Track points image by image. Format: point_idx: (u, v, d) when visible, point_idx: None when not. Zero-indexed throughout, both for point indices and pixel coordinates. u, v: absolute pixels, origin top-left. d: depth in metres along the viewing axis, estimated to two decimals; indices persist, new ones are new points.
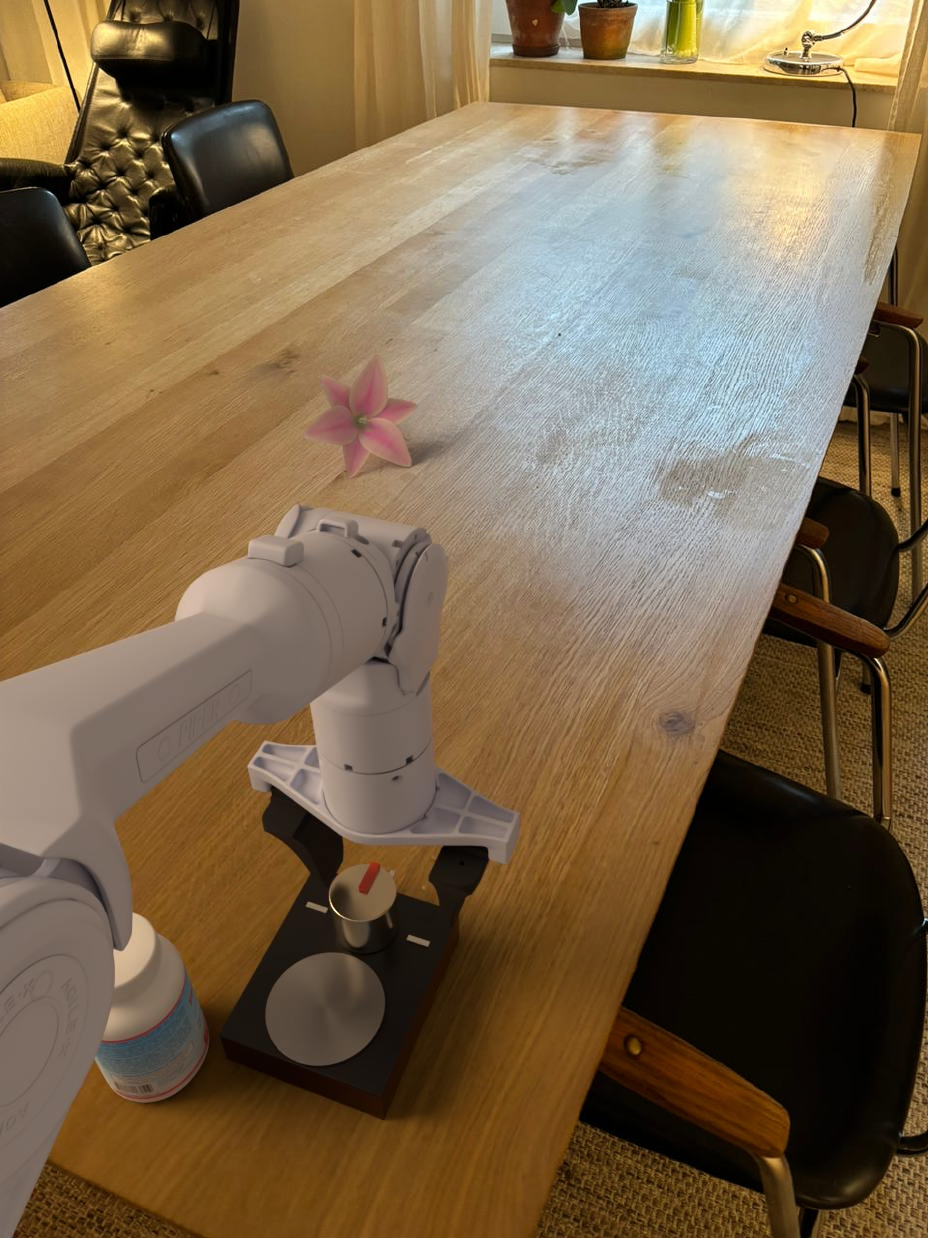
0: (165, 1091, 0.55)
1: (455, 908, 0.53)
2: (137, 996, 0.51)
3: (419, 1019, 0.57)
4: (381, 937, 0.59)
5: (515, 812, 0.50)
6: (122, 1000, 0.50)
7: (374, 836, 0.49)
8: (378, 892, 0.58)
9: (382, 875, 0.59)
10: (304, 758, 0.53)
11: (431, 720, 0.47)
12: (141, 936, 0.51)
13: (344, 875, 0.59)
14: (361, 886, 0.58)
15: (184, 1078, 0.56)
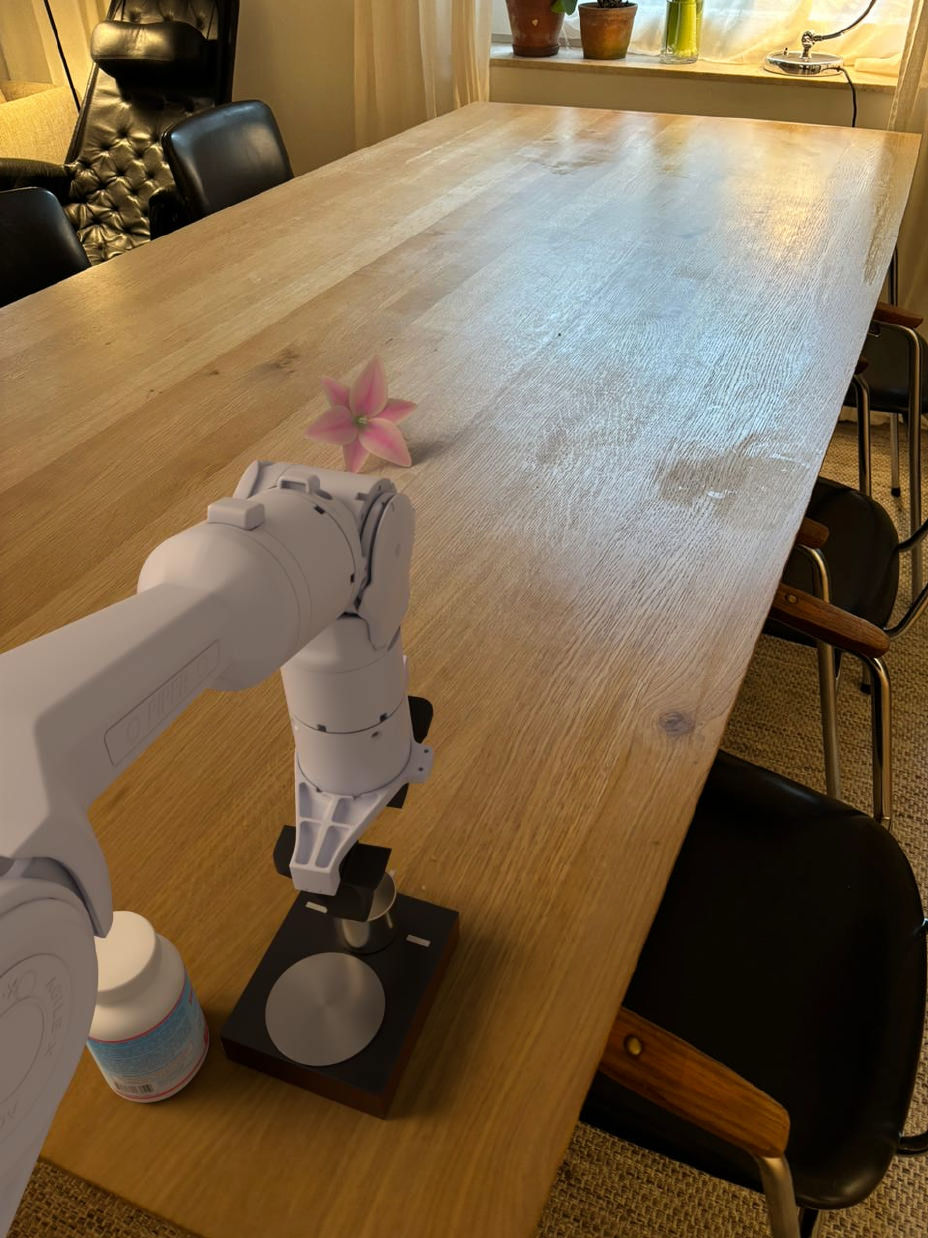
0: (165, 1091, 0.55)
1: None
2: (137, 996, 0.51)
3: (419, 1019, 0.57)
4: (381, 937, 0.59)
5: (329, 868, 0.45)
6: (122, 1000, 0.50)
7: (296, 756, 0.50)
8: (378, 892, 0.58)
9: None
10: None
11: (403, 677, 0.47)
12: (141, 936, 0.51)
13: None
14: None
15: (184, 1078, 0.56)
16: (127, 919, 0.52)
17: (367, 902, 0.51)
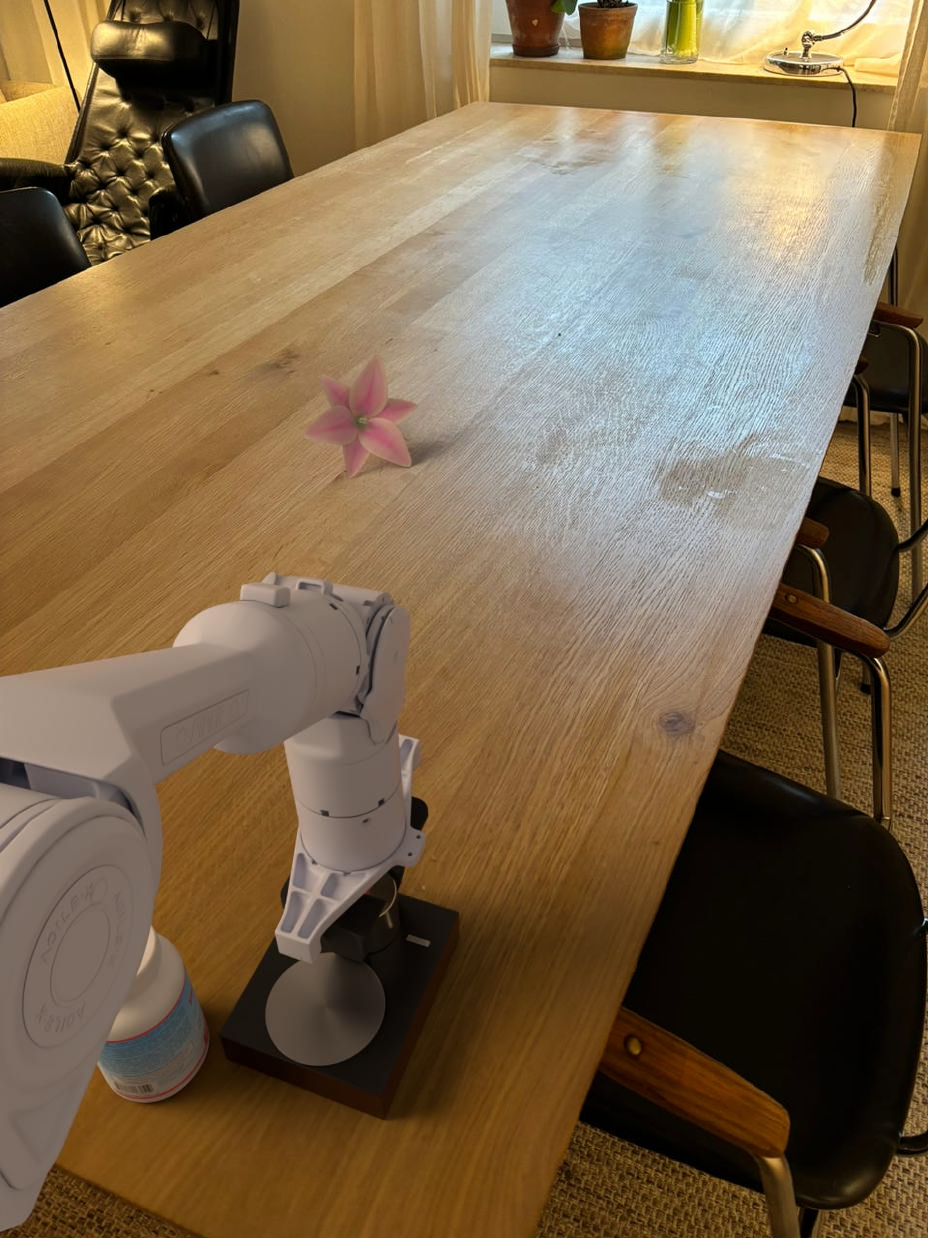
0: (165, 1091, 0.55)
1: None
2: (137, 996, 0.51)
3: (419, 1019, 0.57)
4: (381, 937, 0.59)
5: (309, 940, 0.49)
6: None
7: (300, 827, 0.55)
8: (378, 892, 0.58)
9: None
10: None
11: (399, 763, 0.51)
12: None
13: None
14: None
15: (184, 1078, 0.56)
16: None
17: (363, 945, 0.56)
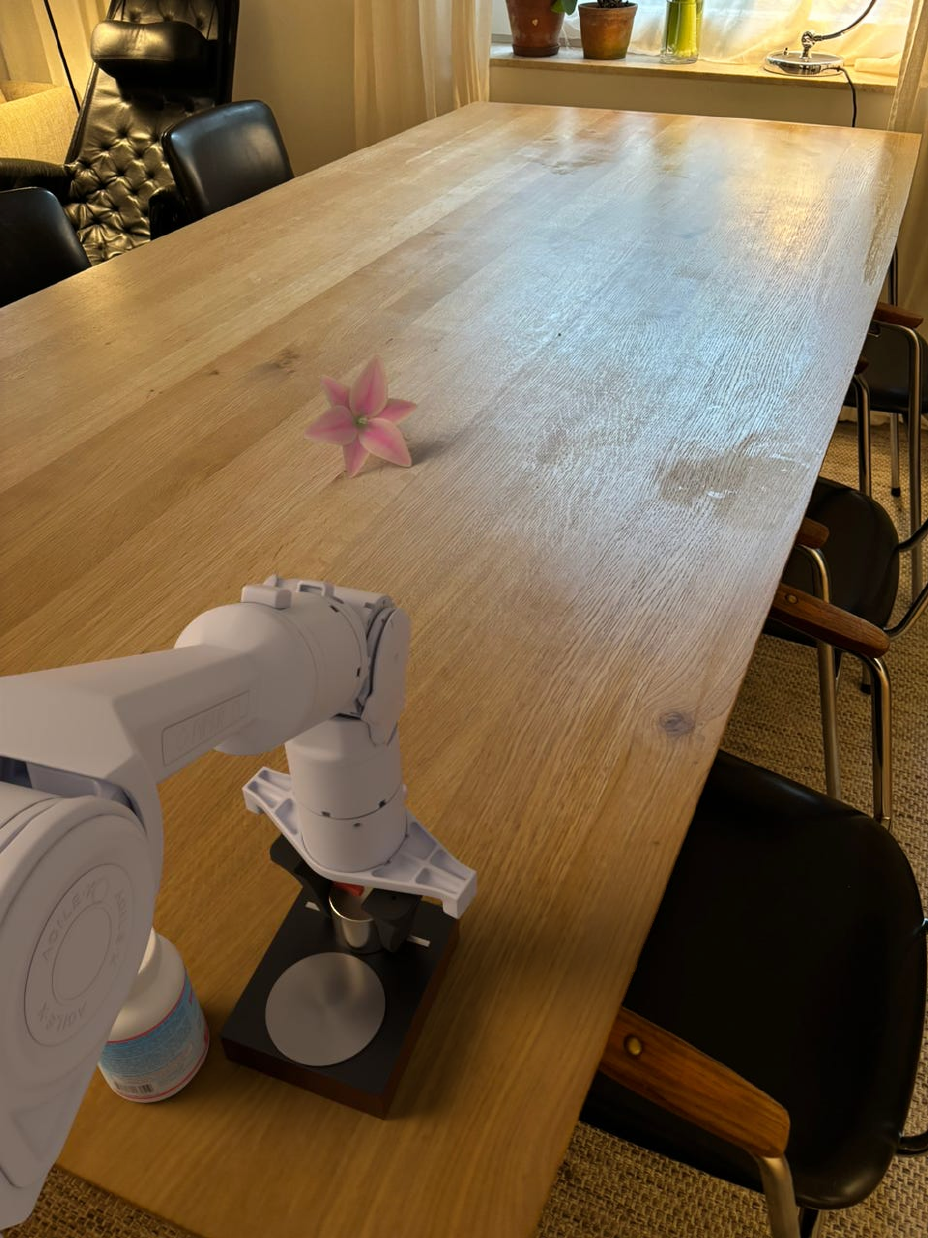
0: (165, 1091, 0.55)
1: (391, 937, 0.56)
2: (137, 996, 0.51)
3: (419, 1019, 0.57)
4: None
5: (472, 871, 0.52)
6: None
7: (338, 873, 0.52)
8: None
9: None
10: None
11: (400, 765, 0.51)
12: None
13: (338, 906, 0.58)
14: (359, 889, 0.58)
15: (184, 1078, 0.56)
16: None
17: (421, 898, 0.58)
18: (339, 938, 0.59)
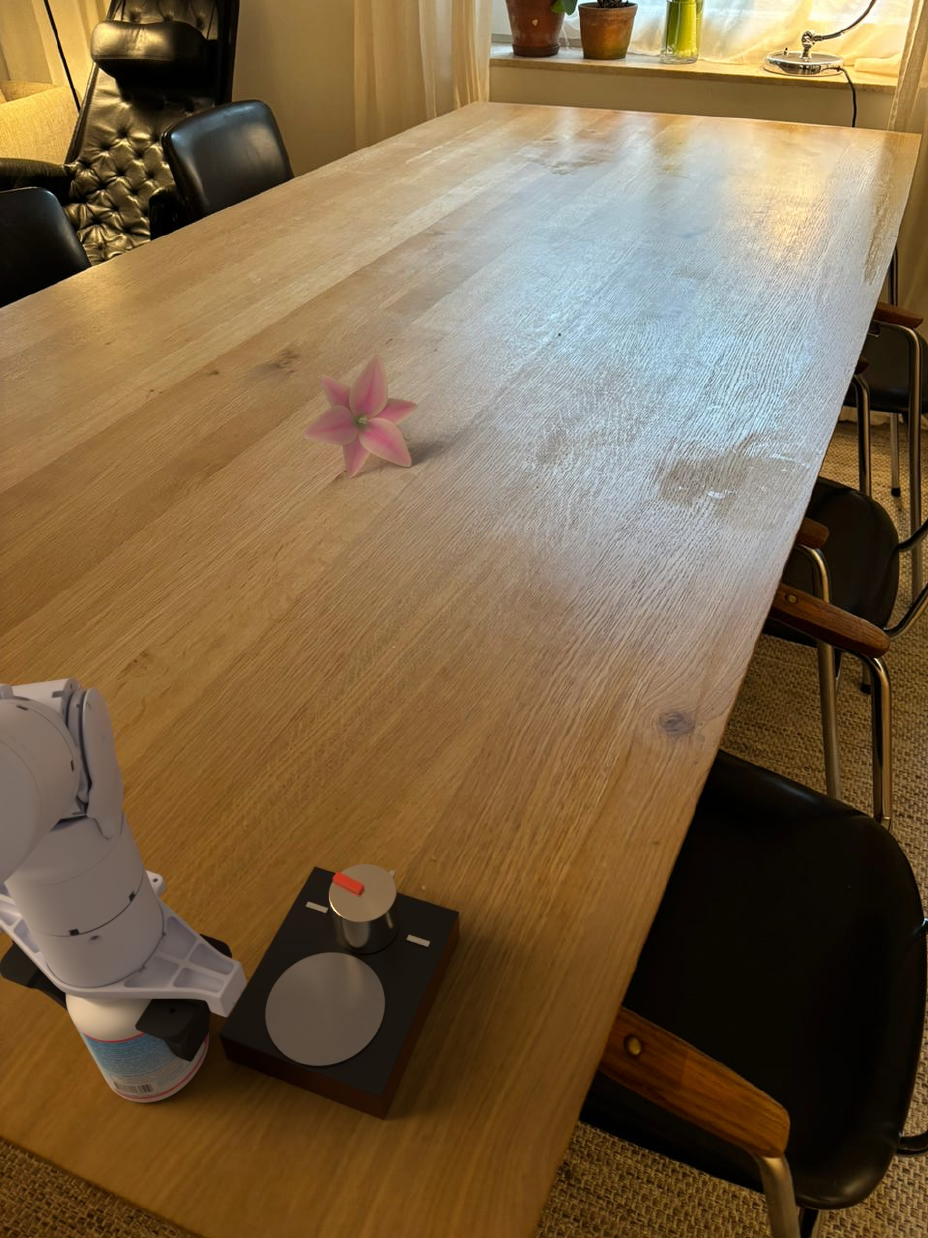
0: (165, 1091, 0.55)
1: (181, 1048, 0.52)
2: None
3: (419, 1019, 0.57)
4: None
5: (236, 962, 0.48)
6: (121, 1000, 0.50)
7: (86, 990, 0.47)
8: (367, 878, 0.59)
9: (349, 873, 0.59)
10: None
11: (137, 849, 0.47)
12: None
13: (338, 905, 0.58)
14: (359, 889, 0.58)
15: (184, 1078, 0.56)
16: None
17: None
18: (339, 938, 0.59)
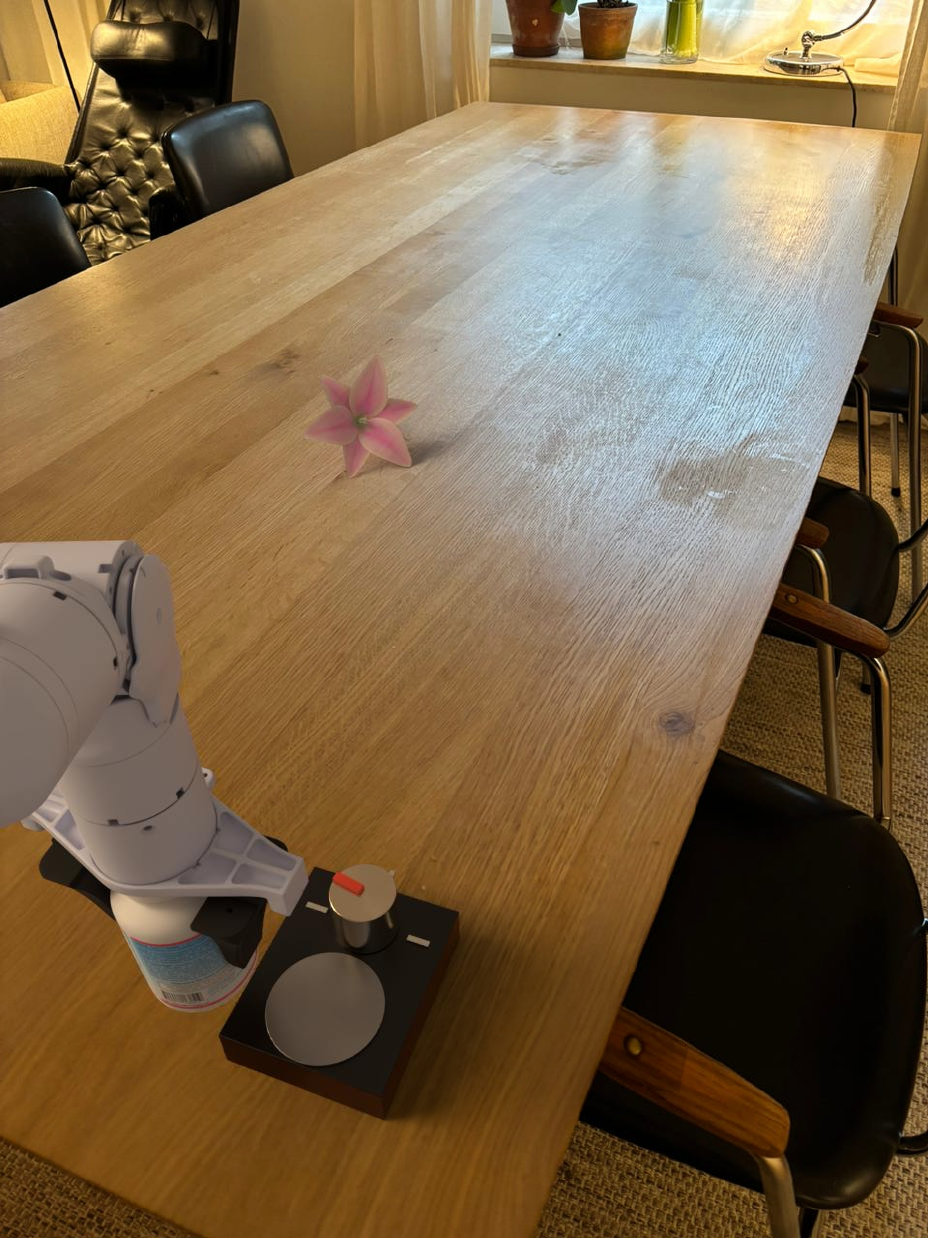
0: (215, 1000, 0.52)
1: (236, 953, 0.48)
2: (188, 897, 0.47)
3: (419, 1019, 0.57)
4: None
5: (298, 858, 0.45)
6: (173, 900, 0.46)
7: (137, 887, 0.44)
8: (367, 878, 0.59)
9: (349, 873, 0.59)
10: None
11: (193, 743, 0.43)
12: None
13: (338, 905, 0.58)
14: (359, 889, 0.58)
15: (235, 987, 0.52)
16: None
17: None
18: (339, 938, 0.59)
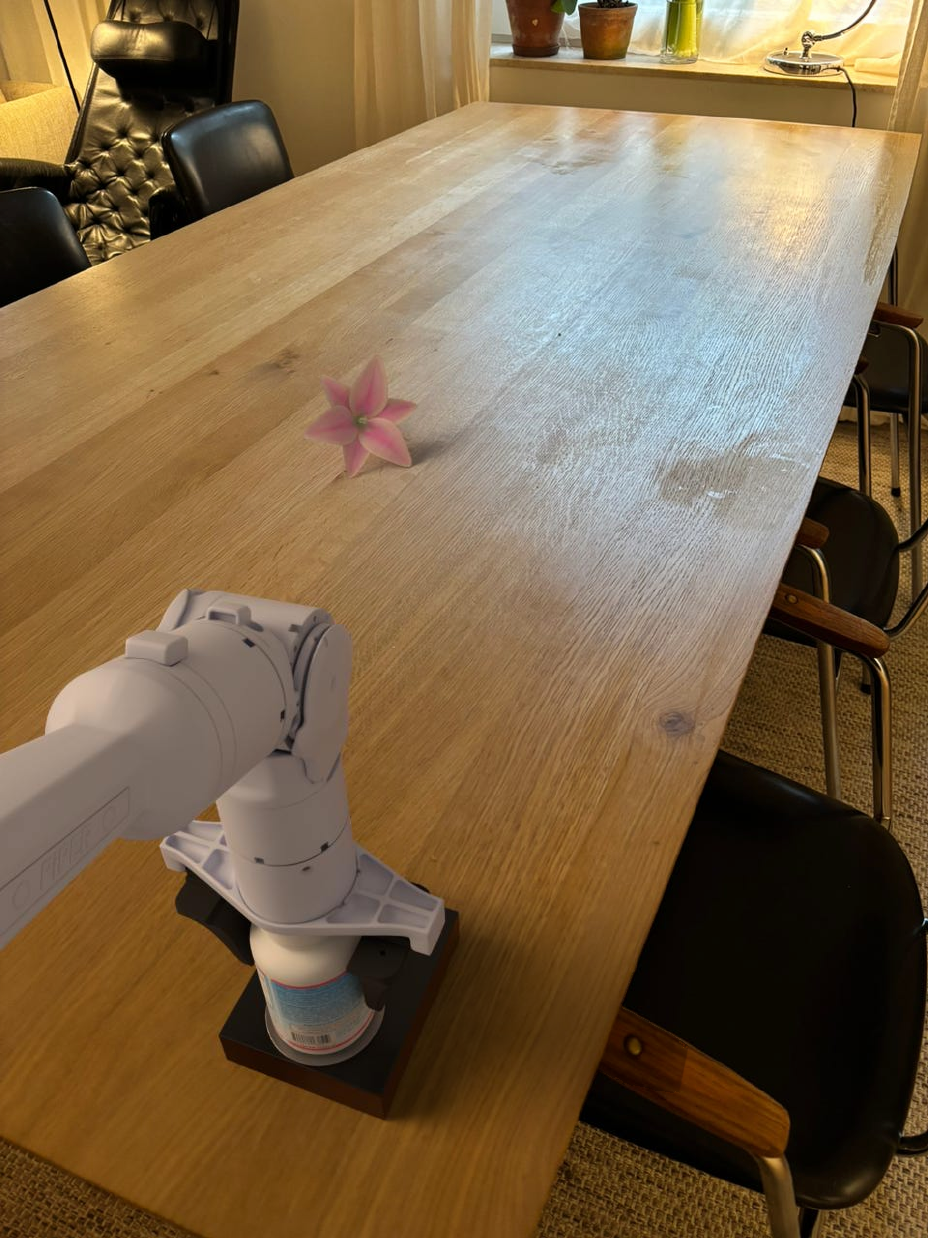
0: (341, 1042, 0.54)
1: (380, 995, 0.50)
2: (328, 941, 0.49)
3: (419, 1019, 0.57)
4: None
5: (439, 899, 0.47)
6: (315, 944, 0.49)
7: (287, 926, 0.46)
8: None
9: None
10: (220, 837, 0.50)
11: (346, 801, 0.44)
12: None
13: None
14: None
15: (359, 1030, 0.54)
16: None
17: None
18: None
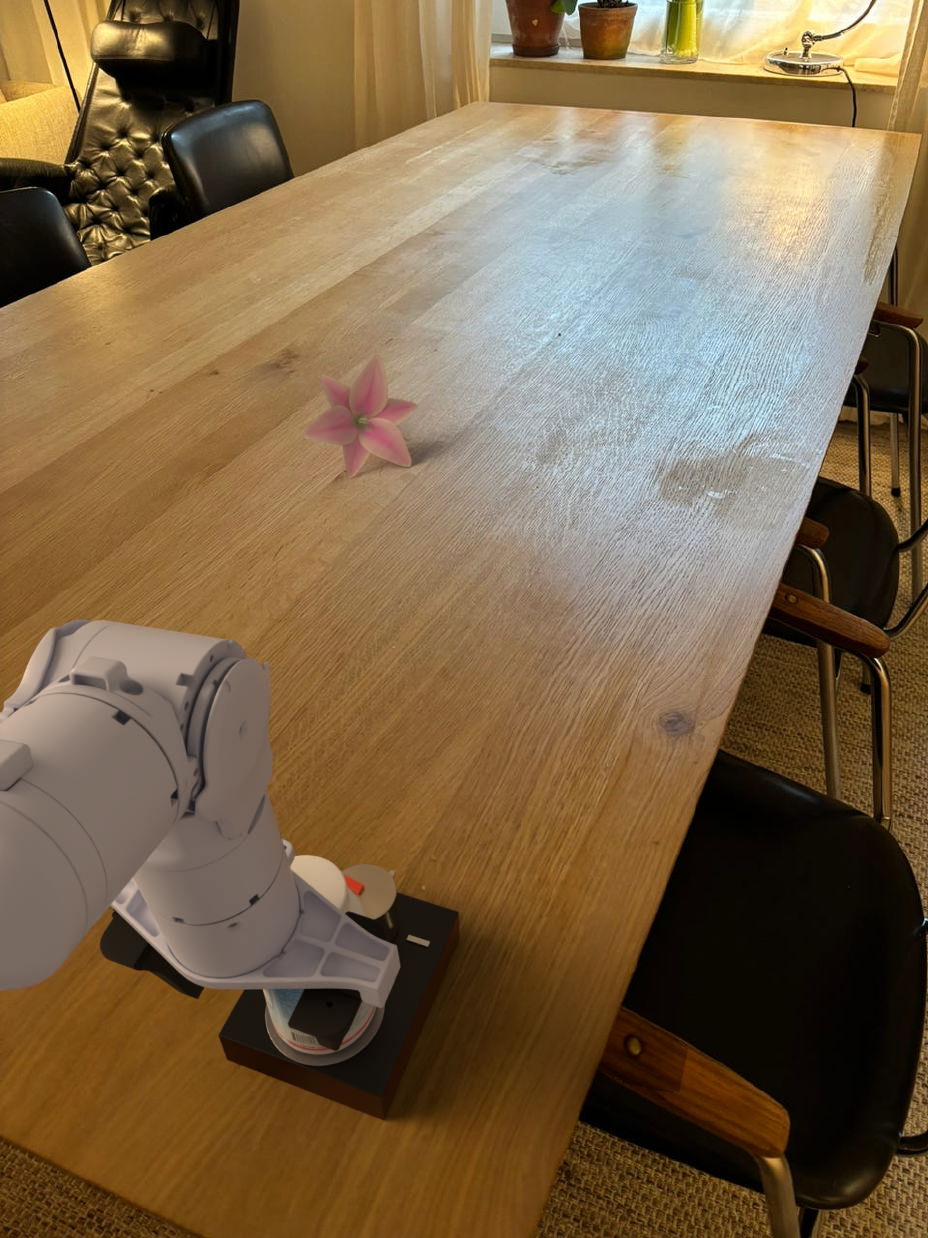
0: None
1: None
2: None
3: (419, 1019, 0.57)
4: None
5: (391, 946, 0.41)
6: None
7: (219, 980, 0.40)
8: (367, 878, 0.59)
9: (349, 873, 0.59)
10: None
11: (278, 844, 0.39)
12: (330, 879, 0.50)
13: None
14: (359, 889, 0.58)
15: (359, 1030, 0.54)
16: (313, 863, 0.51)
17: None
18: None
